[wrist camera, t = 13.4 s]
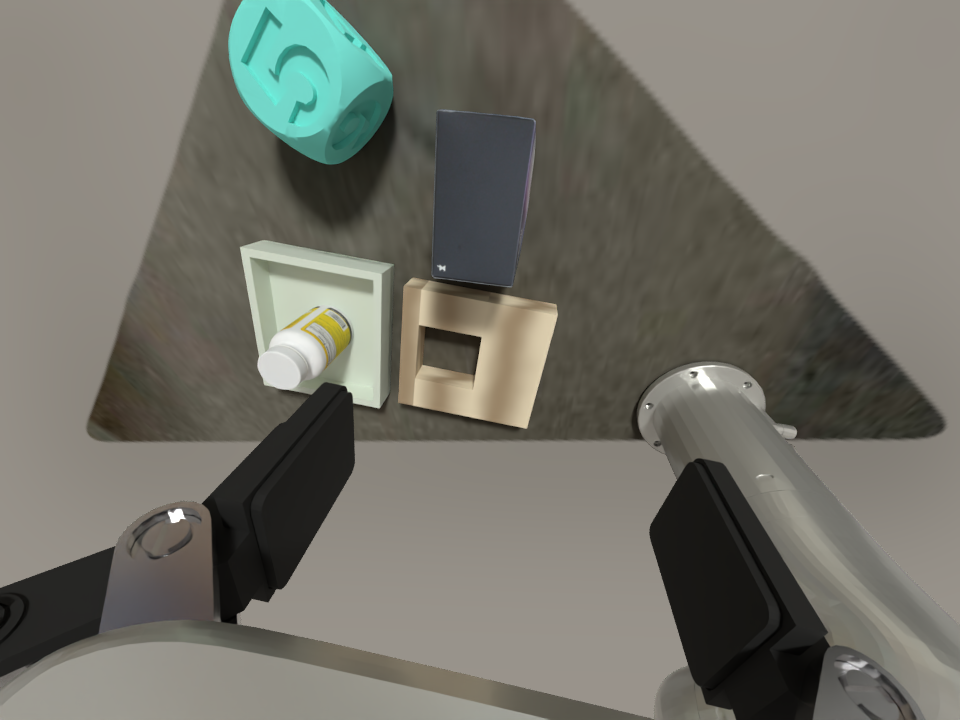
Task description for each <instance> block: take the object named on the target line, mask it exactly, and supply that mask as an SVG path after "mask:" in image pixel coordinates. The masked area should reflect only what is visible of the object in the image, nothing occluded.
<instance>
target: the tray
mask: <svg viewBox="0 0 960 720" xmlns="http://www.w3.org/2000/svg"><path fill="white" fill-rule="evenodd" d="M240 249H241V255H242V261H243V266H244V272H245V278H246V283H247V289H248V295H249V301H250V306H251V312H252V318H253V323H254V329H255V335H256V340H257V346H258V352H259V357H260V356H261V355H262V354H263V353H264V352H266V351H267V350H268V349H269V344H270V341H271V339H272V338H273V337H274V335H275V334H277V333H278V332H279V331H281V330H282V329H283V328H285V327H286V326H288V325H289V324H291V323H292V322H294V321H295V320H296V319H298V318H299V317H301V316H302V315H304V314H305V313H306V312H308V311H309V310H311V309H312V308H314V307H316V306H319V305H329V306H333V307H336V308H338V309H339V310H341V311H342V312H343V313H344V314H345V315H346V316H347V317H348V318H349V320H350V321H351V324H352V327H353V338H352V340H351V342H350V344H349V345H348V346H347V347H346V348H345V349H344V350H343V351H342V352H341V353H340V354H339V355H338V356H337V357H336V358H335V359H334V360H333V362H332V363H331V364H330V365H329V366H328V367H327V368H326V369H325V370H324V371H323V372H322V373H321V374H320V375H318V376H317V377H315V378H313V379H310V380H304V381H302V382H301V383H300V384H299V385H298V386H297V387H295V388H293V389H290V390H292V391H297V392H302V393H307V394H313V393H314V392H315V391H316V390H317V389H318V388H319V387H320V385H321V384H323V383H324V382H328V383H333V384H338V385H343V386H346V388H347V391H348V392H351V393H352V395H353V403H355V404H360V405H365V406H370V407H375V408H380V407H381V406H382V404H383V403H384V401H385V399H386V398H387V396H388V395H389V393H390V386H391V354H392V322H393V289H394V264H389V263H384V262H378V261H373V260H368V259H362V258H357V257H352V256H346V255H341V254H336V253H330V252H325V251H320V250H314V249H309V248H304V247H298V246H293V245H287V244H282V243H277V242H271V241H266V240H262V241H259V242H256V243H252V244H249V245H246V246H242V247H240ZM263 380H264V378H263ZM264 385H268V386H272V385H270V384H269V383H268V382H267V381H265V380H264ZM273 387H274V386H273Z"/></svg>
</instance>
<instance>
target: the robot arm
mask: <svg viewBox="0 0 960 720" xmlns="http://www.w3.org/2000/svg"><path fill="white" fill-rule="evenodd" d="M765 408H766V405H765V396H764V394H763V391H762V389H761V387H760V386H759V384H758V383H757V382H756V381H755V380H754V379H753V378H752V377H751V376H750V375H749V374H748V373H746V372H745V371H743V370H742V369H740V368H738V367H735V366H733V365H730V364H726V363H721V362H698V363H691V364H688V365H684V366H680V367H678V368H676V369H673V370H671V371H669V372H667V373H666V374H664V375H662V376H661V377H659V378H658V379H657V380H656V381H654V382H653V383H652V384H651V385H650V386H649V387H648V389H647V390H646V391H645V392H644V394H643V395H642V397H641V399H640V401H639V404H638V408H637V423H638V427H639V429H640V432H641V434H642V436H643V438H644V439H645V440H646V442H647V443H648V444H649V445H650V446H651V447H653V448H654V449H656V450H657V451H659V452H661V453H663V454H666V456H667V458H668V460H669V463H670V465H671V467H672V469H673V472H674V474H675V476H676V478H677V481H676V483H675V485H674V486H673V488H672V490H671V491H670V493H669V495H668V496H667V498H666V500H665V502H664V503H663V505H662V507H661V508H660V510H659V512H658V513H657V515H656V517H655V518H654V520H653V522H652V523H651V526H650V532H649V533H650V539H651V543H652V546H653V549H654V553H655V556H656V559H657V562H658V566H659V569H660V573H661V576H662V579H663V582H664V586H665V589H666V592H667V596H668V599H669V603H670V605H671V609H672V612H673V615H674V619H675V622H676V625H677V629H678V632H679V636H680V639H681V642H682V646H683V649H684V652H685V656H686V659H687V662H688V666H686V667H683V668H680V669H678V670H676V671H675V672H673V673H671V674H670V675H669V676H667V677H666V678H665V680H664V681H663V682H662V683H661V685H660V687H659V689H658V692H657V694H656V698H655V705H654V719H651V718H647V717H643V716H638V715H634V714H630V713H626V712H622V711H618V710H613V709H609V708H605V707H601V706H597V705H593V704H589V703H585V702H580V701H576V700H572V699H568V698H563V697H559V696H555V695H551V694H547V693H542V692H538V691H534V690H530V689H525V688H521V687H517V686H513V685H508V684H504V683H500V682H496V681H492V680H487V679H483V678H479V677H475V676H470V675H466V674H462V673H457V672H453V671H448V670H445V669H440V668H436V667H432V666H427V665H423V664H418V663H414V662H410V661H405V660H401V659H397V658H392V657H388V656H384V655H379V654H375V653H371V652H366V651H362V650H358V649H354V648H349V647H345V646H341V645H336V644H332V643H328V642H323V641H318V640H313V639H308V638H304V637H298V636H294V635H289V634H285V633H280V632H275V631H270V630H265V629H261V628H256V627H249V626H243V625H241V617H240V616H241V615H240V612H242V611H244V610H245V608H246V607H247V605H248V604H249V602H250V601H251V599H256V600H260V601H264V602H269V600H270V599H271V597H272V595H273V594H274V592H275V590H276V589H282V588H284V586H285V585H286V584H287V582H288V581H289V579H290V577H291V576H292V574H293V572H294V571H295V569H296V567H297V565H298V564H299V562H300V560H301V559H302V557H303V555H304V554H305V552H306V550H307V548H308V547H309V545H310V543H311V541H312V540H313V538H314V536H315V535H316V533H317V531H318V530H319V528H320V526H321V524H322V523H323V521H324V519H325V518H326V516H327V514H328V513H329V511H330V509H331V508H332V506H333V504H334V502H335V501H336V499H337V497H338V496H339V494H340V492H341V490H342V489H343V487H344V485H345V484H346V482H347V480H348V479H349V477H350V475H351V473H352V471H353V468H354V464H355V453H354V419H353V395H352V393H351V392H348V391H347V388H346V386H343V385H338V384H333V383H328V382H324V383H323V384H321V385H320V387H319V388H318V389H317V390H316V391H315V392H314V393H313V394H312V395H311V396H310V397H309V398H308V399H307V400H306V401H305V402H304V403H303V404H302V405H301V406H300V408H299V409H298V410H297V411H296V412H295V413H294V414H293V415H292V416H291V417H290V418H289V419H288V420H287V421H286V422H284V423H281V424H279V425H278V426H277V427H276V428H275V429H274V430H273V431H272V432H271V433H270V434H269V435H268V436H267V437H266V438H265V439H264V440H263V441H262V442H261V443H260V444H259V445H258V446H257V447H256V448H255V449H254V450H253V451H252V452H251V454H249V456H247V457H246V458H245V460H243V462H242V463H241V464H240V465H239V466H238V467H237V468H236V469H235V470H234V471H233V472H232V473H231V474H230V475H229V476H228V477H227V478H226V479H225V480H224V481H223V482H222V483H221V484H220V485H219V486H218V487H217V488H216V489H215V490H214V492H212V493H211V495H210V496H209V497H208V498H207V499H206V500H205V501H204V502H203V503H202V504H200V503H197V502H194V501H180V502H175V503H170V504H166V505H163V506H161V507H158V508H155V509H153V510H151V511H150V512H148V513H146V514H144V515H142V516H141V517H139V518H138V519H137V520H136V521H134V522H133V523H132V524H131V525H130V526H128V527H127V529H126V530H125V531H124V532H123V534H122V535H121V536H120V537H119V539H118V542H117V544H116V546H114V547H112V548H109V549H106V550H103V551H101V552H98V553H95V554H92V555H90V556H87V557H84V558H81V559H79V560H76V561H73V562H70V563H68V564H65V565H62V566H59V567H57V568H54V569H52V570H48V571H46V572H43V573H40V574H37V575H35V576H32V577H29V578H26V579H24V580H21V581H18V582H15V583H13V584H10V585H7V586H5V587H2V588H0V720H960V624H959V623H958V622H957V621H955V620H954V619H953V618H952V617H951V616H950V615H949V614H948V613H947V612H946V611H945V610H944V609H943V608H942V607H941V606H940V605H939V604H938V603H937V602H936V601H934V600H933V599H932V598H931V597H930V596H929V595H928V594H927V593H926V592H925V591H924V590H923V589H922V588H921V587H920V586H919V585H918V584H917V583H916V582H915V581H914V580H913V579H912V578H911V577H910V576H909V575H908V574H907V573H906V572H905V571H904V570H903V569H902V568H901V567H900V566H899V565H898V564H897V563H896V562H895V560H894V559H893V558H892V557H891V556H890V555H889V554H888V553H887V552H886V551H885V550H884V549H883V548H882V547H881V546H880V545H879V544H878V543H877V542H876V540H875V539H874V538H873V537H872V536H871V535H870V534H869V533H868V532H867V531H866V530H865V528H864V527H863V526H862V525H861V524H860V523H859V522H858V521H857V520H856V518H855V517H854V516H853V515H852V514H851V513H850V512H849V511H848V509H847V508H846V507H845V506H844V505H843V504H842V503H841V502H840V501H839V500H838V498H837V497H836V496H835V495H834V494H833V493H832V492H831V491H830V489H829V488H828V487H827V486H826V485H825V484H824V483H823V482H822V480H821V479H820V478H819V477H818V476H817V475H816V474H815V473H814V472H813V470H812V469H811V468H810V467H809V466H808V465H807V464H806V462H805V461H804V460H803V459H802V458H801V457H800V456H799V455H798V453H797V451H796V448H795V446H793V445H792V444H789V443H788V442H787V441H786V440H785V439H784V438H786V439H793V438H795V436H796V434H797V430H796V428H795V427H793V426H790V425H785V424H776V423H775V422H774V421H773V420H772V419H771V418H770V417H769V415H768V414H767V413H766V412H765Z"/></svg>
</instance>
